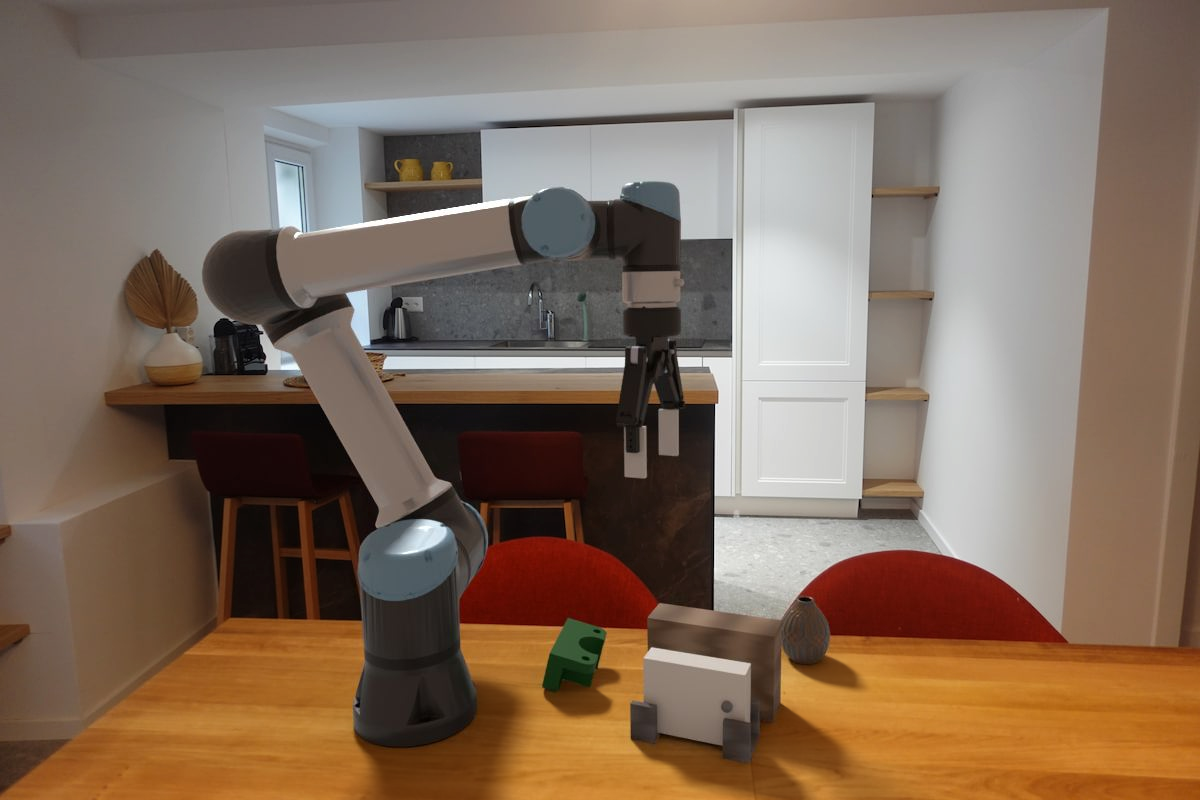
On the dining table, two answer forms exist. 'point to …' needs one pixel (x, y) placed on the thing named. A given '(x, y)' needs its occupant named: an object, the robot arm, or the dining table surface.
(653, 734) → the cabinet
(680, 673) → the door
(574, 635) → the clamp
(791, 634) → the vase
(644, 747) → the dining table surface
